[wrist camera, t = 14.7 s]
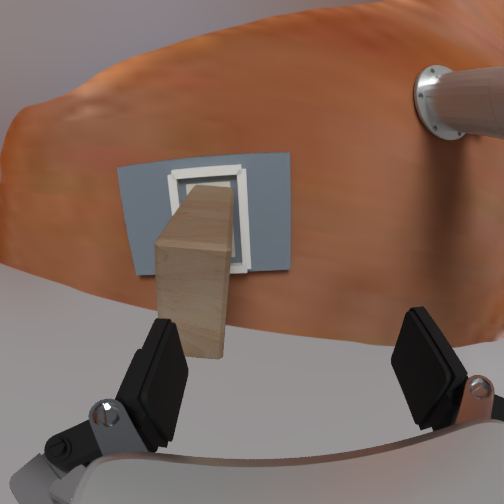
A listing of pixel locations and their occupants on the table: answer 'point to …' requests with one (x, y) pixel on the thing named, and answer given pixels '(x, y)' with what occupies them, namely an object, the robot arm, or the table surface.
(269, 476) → the robot arm
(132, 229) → the board
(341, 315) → the table surface
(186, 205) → the decorative block
